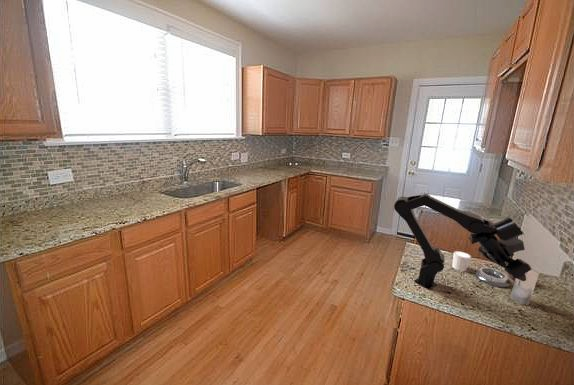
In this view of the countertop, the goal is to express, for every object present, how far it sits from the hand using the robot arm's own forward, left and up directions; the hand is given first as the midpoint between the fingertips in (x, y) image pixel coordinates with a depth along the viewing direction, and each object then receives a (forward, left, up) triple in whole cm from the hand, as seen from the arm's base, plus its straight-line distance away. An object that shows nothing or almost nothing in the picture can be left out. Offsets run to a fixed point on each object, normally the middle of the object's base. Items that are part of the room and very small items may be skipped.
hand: (514, 273), depth 98 cm
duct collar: (+11, +9, -11) cm, 18 cm away
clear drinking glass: (+4, -3, -11) cm, 12 cm away
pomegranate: (+21, +3, -12) cm, 24 cm away
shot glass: (+8, +21, -12) cm, 26 cm away
